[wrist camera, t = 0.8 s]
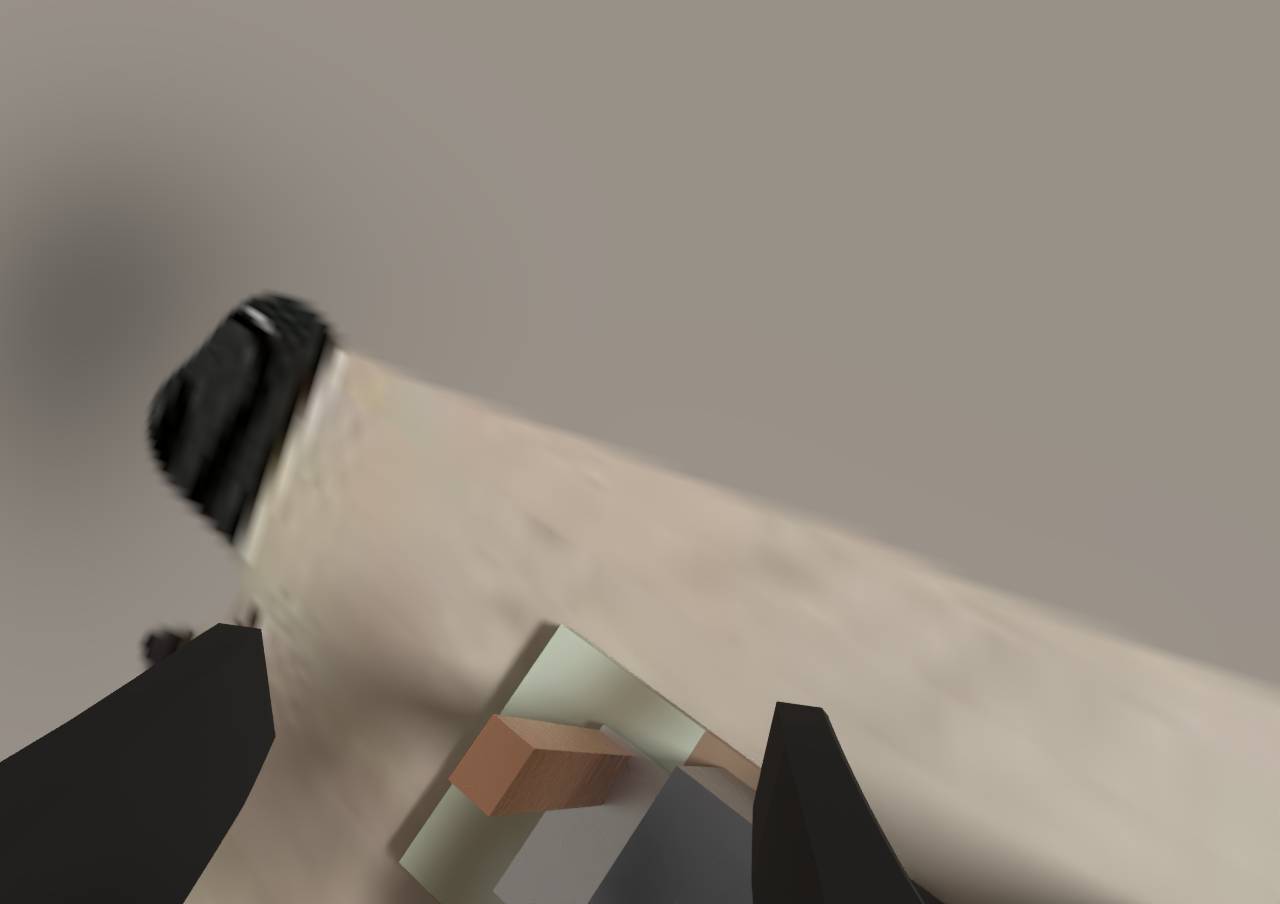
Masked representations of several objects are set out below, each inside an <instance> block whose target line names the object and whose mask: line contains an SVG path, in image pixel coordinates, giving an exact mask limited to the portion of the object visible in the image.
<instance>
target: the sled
mask: <svg viewBox="0 0 1280 904" xmlns="http://www.w3.org/2000/svg"><path fill="white" fill-rule="evenodd" d="M670 775H671V773H670V772H669V771H667V770H666V769H665V768H664V767H662V766H661V765H660V764H658V763H657V762H656V761H655V760H653V759H652V758H651V757H650V756H648V755H647V754H646V753H644V752H643V751H642V750H641V749H639V748H638V747H637V746H635V745H634V744H633V743H632V742H630V741H629V740H628V739H627V738H625V737H624V736H623V735H621V734H620V733H619V732H618V731H616V730H615V729H614V728H612V727H611V726H610V725H605V724H603V725H602V727H601V728H600V730H595V729H588V728H582V727H575V726H569V725H562V724H556V723H549V722H543V721H536V720H530V719H523V718H517V717H510V716H504V715H497V714H493V715H492V716H491V717H490V719H489V720H488V722H487V723H486V725H485V726H484V728H483V729H482V731H481V732H480V734H479V735H478V736H477V738H476V739H475V741H474V742H473V744H472V745H471V747H470V748H469V750H468V751H467V753H466V754H465V755H464V757H463V758H462V760H461V761H460V763H459V764H458V766H457V767H456V769H455V770H454V772H453V773H452V774H451V776H450V777H449V779H448V780H449V781H450V782H451V783H452V784H453V785H454V786H455V787H457V788H458V789H459V790H460V791H461V792H462V793H463V794H464V795H465V796H467V797H468V798H469V799H470V800H471V801H472V802H473V803H474V804H475V805H476V806H478V807H479V808H480V809H481V810H482V811H483V812H484V813H485V814H486V815H488V816H489V817H491V816H501V815H511V814H521V813H531V812H541V811H545V813H544V814H543V816H542V817H541V819H540V820H539V822H538V823H537V825H536V826H535V828H534V829H533V831H532V832H531V834H530V835H529V837H528V839H527V840H526V842H525V843H524V845H523V846H522V848H521V849H520V851H519V852H518V854H517V855H516V857H515V858H514V860H513V861H512V863H511V864H510V866H509V867H508V869H507V870H506V872H505V873H504V875H503V876H502V878H501V879H500V881H499V882H498V884H497V885H496V887H495V888H494V890H493V892H494V893H495V894H496V895H497V896H498V897H499V898H500V899H501V900H502V901H503V902H505V903H506V904H588V902H589V901H590V899H591V898H592V896H593V894H594V893H595V891H596V890H597V888H598V887H599V885H600V884H601V882H602V881H603V879H604V877H605V876H606V874H607V873H608V871H609V870H610V868H611V867H612V865H613V863H614V862H615V860H616V859H617V857H618V856H619V854H620V853H621V851H622V849H623V848H624V846H625V845H626V843H627V842H628V840H629V839H630V837H631V835H632V834H633V832H634V831H635V829H636V828H637V826H638V825H639V823H640V822H641V820H642V818H643V817H644V815H645V814H646V812H647V811H648V809H649V808H650V806H651V804H652V803H653V801H654V800H655V798H656V797H657V795H658V794H659V792H660V790H661V789H662V787H663V786H664V784H665V783H666V781H667V780H668V778H669V777H670Z"/></svg>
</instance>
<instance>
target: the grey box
mask: <svg viewBox="0 0 1280 904" xmlns="http://www.w3.org/2000/svg"><path fill="white" fill-rule="evenodd" d="M755 794H756V791H755V790H753V789H752V788H751V787H749V786H748V785H747V784H745V783H744V782H743V781H741V780H740V779H739V778H737V777H736V776H735V775H733V774H732V773H731V772H729V771H728V770H727V769H725V768H718V767H696V766H676V767H675V769H674V770H673V772H672V773H671V775H670V777H669V778H668V780H667V781H666V783H665V784H664V786H663V787H662V789H661V790H660V792H659V794H658V795H657V797H656V798H655V800H654V801H653V803H652V804H651V806H650V808H649V809H648V811H647V812H646V814H645V815H644V817H643V818H642V820H641V822H640V823H639V825H638V826H637V828H636V829H635V831H634V832H633V834H632V835H631V837H630V839H629V840H628V842H627V843H626V845H625V846H624V848H623V849H622V851H621V853H620V854H619V856H618V857H617V859H616V860H615V862H614V863H613V865H612V867H611V868H610V870H609V871H608V873H607V874H606V876H605V877H604V879H603V881H602V882H601V884H600V885H599V887H598V888H597V890H596V891H595V893H594V894H593V896H592V898H591V899H590V901H589V902H588V904H753V896H752V883H751V867H752V818H753V803H754V798H755Z"/></svg>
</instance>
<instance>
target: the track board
mask: <svg viewBox="0 0 1280 904" xmlns="http://www.w3.org/2000/svg"><path fill="white" fill-rule="evenodd" d="M500 715H504V716H510V717H517V718H523V719H530V720H536V721H543V722H549V723H556V724H562V725H569V726H575V727H582V728H588V729H595V730H600V728H601V727H602V725H603V724H605V725H610V726H611V727H612V728H614V729H615V730H616V731H618V732H619V733H620V734H621V735H623V736H624V737H625V738H627V739H628V740H629V741H630V742H632V743H633V744H634V745H635V746H637V747H638V748H639V749H641V750H642V751H643V752H644V753H646V754H647V755H648V756H650V757H651V758H652V759H653V760H655V761H656V762H657V763H658V764H660V765H661V766H662V767H664V768H665V769H666V770H667V771H669V772H670V773H672V772H673V770H674V769H675V767H676V766H696V767H718V768H725V769H727V770H728V771H729V772H731V773H732V774H733V775H735V776H736V777H737V778H739V779H740V780H741V781H743V782H744V783H745V784H747V785H748V786H749V787H751V788H752V789H753V790H755V791H756V790H757V785H758V781H759V777H760V772H761V768H760V767H758V766H757V765H756V764H754V763H753V762H752V761H750V760H749V759H747V758H746V757H745V756H743V755H742V754H741V753H739V752H738V751H737V750H735V749H734V748H733V747H731V746H730V745H729V744H727V743H726V742H724V741H723V740H722V739H720V738H719V737H718V736H716V735H715V734H714V733H712V732H711V731H710V730H708V729H707V728H706V727H704V726H703V725H701V724H700V723H699V722H697V721H696V720H695V719H693V718H692V717H691V716H689V715H688V714H687V713H685V712H684V711H683V710H681V709H680V708H679V707H677V706H676V705H674V704H673V703H672V702H670V701H669V700H668V699H666V698H665V697H664V696H662V695H661V694H660V693H658V692H657V691H656V690H654V689H653V688H651V687H650V686H649V685H647V684H646V683H645V682H643V681H642V680H641V679H639V678H638V677H637V676H635V675H634V674H633V673H631V672H630V671H628V670H627V669H626V668H624V667H623V666H622V665H620V664H619V663H618V662H616V661H615V660H614V659H612V658H611V657H610V656H608V655H607V654H606V653H604V652H603V651H601V650H600V649H599V648H597V647H596V646H595V645H593V644H592V643H591V642H589V641H588V640H587V639H585V638H584V637H583V636H581V635H580V634H578V633H577V632H576V631H574V630H573V629H571V628H569V627H567V626H565V625H562V624H561V625H560V627H559V628H558V630H557V631H556V633H555V634H554V635H553V637H552V638H551V640H550V641H549V643H548V644H547V646H546V647H545V649H544V650H543V652H542V653H541V655H540V656H539V657H538V659H537V660H536V662H535V663H534V665H533V666H532V668H531V669H530V671H529V672H528V674H527V675H526V676H525V678H524V679H523V681H522V682H521V684H520V685H519V687H518V688H517V690H516V691H515V693H514V694H513V696H512V697H511V698H510V700H509V701H508V703H507V704H506V706H505V707H504V709H503V710H502V712H501V713H500ZM544 813H545V811H541V812H531V813H521V814H511V815H501V816H491V817H489V816H488V815H486V814H485V813H484V812H483V811H482V810H481V809H480V808H479V807H478V806H476V805H475V804H474V803H473V802H472V801H471V800H470V799H469V798H468V797H467V796H465V795H464V794H463V793H462V792H461V791H460V790H459V789H458V788H457V787H455V786H454V785H453V784H452V785H451V786H450V788H449V789H448V791H447V792H446V794H445V795H444V797H443V798H442V799H441V801H440V802H439V804H438V805H437V807H436V808H435V810H434V811H433V813H432V814H431V816H430V817H429V818H428V820H427V821H426V823H425V824H424V826H423V827H422V829H421V830H420V832H419V833H418V835H417V836H416V838H415V839H414V840H413V842H412V843H411V845H410V846H409V848H408V849H407V851H406V852H405V854H404V855H403V857H402V858H401V859H400V861H399V863H400V864H401V865H402V866H403V867H404V868H405V869H406V870H407V871H408V872H409V873H410V874H411V875H412V876H413V877H414V878H415V879H416V880H417V881H418V882H419V883H420V884H421V885H422V886H423V887H424V888H425V889H426V890H427V891H428V892H429V893H430V894H431V895H432V896H433V897H434V898H435V899H436V900H437V901H438V902H439V903H440V904H506V903H505V902H503V901H502V900H501V899H500V898H499V897H498V896H497V895H496V894H495V893H494V892H493V890H494V888H495V887H496V885H497V884H498V882H499V881H500V879H501V878H502V876H503V875H504V873H505V872H506V870H507V869H508V867H509V866H510V864H511V863H512V861H513V860H514V858H515V857H516V855H517V854H518V852H519V851H520V849H521V848H522V846H523V845H524V843H525V842H526V840H527V839H528V837H529V835H530V834H531V832H532V831H533V829H534V828H535V826H536V825H537V823H538V822H539V820H540V819H541V817H542V816H543V814H544ZM909 879H910V878H909ZM910 880H911V879H910ZM911 882H912V884H913V885H914V887H915V889H916V890H917V892H918V893H919V895H920V897H921V898H922V900H923V902H924V903H925V904H943V903H942V902H941V901H939V900H938V899H937V898H935V897H934V896H933V895H931V894H930V893H929V892H927V891H926V890H925V889H923V888H922V887H921V886H919V885H918V884H916V883H915V882H914V881H912V880H911Z"/></svg>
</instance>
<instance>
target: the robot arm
mask: <svg viewBox="0 0 1280 904" xmlns="http://www.w3.org/2000/svg"><path fill="white" fill-rule="evenodd" d="M275 737H276V736H275V729H274V722H273V714H272V707H271V699H270V692H269V684H268V677H267V669H266V662H265V654H264V647H263V639H262V632H261V629H257V628H250V627H243V626H236V625H229V624H221V623H218V624H217V625H215V626H213V627H212V628H210V629H209V630H207V631H205V632H204V633H202V634H201V635H199V636H198V637H196V638H194V639H193V640H191V641H190V642H188V643H187V644H185V645H184V646H182V647H181V648H179V649H178V650H176V651H175V652H173V653H172V654H170V655H169V656H167V657H166V658H164V659H163V660H161V661H160V662H158V663H157V664H155V665H154V666H152V667H151V668H149V669H148V670H146V671H145V672H143V673H142V674H140V675H139V676H137V677H136V678H135V679H133V680H131V681H130V682H128V683H127V684H125V685H124V686H122V687H121V688H119V689H118V690H116V691H114V692H113V693H111V694H110V695H108V696H107V697H105V698H104V699H102V700H101V701H99V702H98V703H96V704H94V705H93V706H92V707H90V708H88V709H87V710H85V711H84V712H82V713H81V714H79V715H78V716H76V717H74V718H73V719H71V720H70V721H68V722H67V723H65V724H63V725H61V726H60V727H58V728H56V729H55V730H53V731H51V732H50V733H48V734H46V735H45V736H43V737H42V738H40V739H38V740H36V741H35V742H33V743H31V744H30V745H28V746H26V747H25V748H23V749H21V750H20V751H18V752H17V753H15V754H13V755H12V756H10V757H8V758H7V759H5V760H3V761H2V762H0V904H183V903H184V901H185V900H186V898H187V896H188V895H189V893H190V892H191V890H192V889H193V887H194V885H195V884H196V882H197V881H198V879H199V877H200V876H201V874H202V873H203V871H204V869H205V868H206V866H207V865H208V863H209V861H210V860H211V858H212V857H213V855H214V853H215V852H216V850H217V848H218V847H219V845H220V844H221V842H222V840H223V839H224V837H225V835H226V834H227V832H228V830H229V829H230V827H231V826H232V824H233V822H234V821H235V819H236V817H237V816H238V814H239V812H240V811H241V809H242V807H243V806H244V804H245V802H246V799H247V797H248V795H249V793H250V791H251V789H252V787H253V785H254V783H255V781H256V779H257V777H258V775H259V772H260V770H261V768H262V766H263V763H264V761H265V759H266V757H267V754H268V752H269V750H270V748H271V746H272V743H273V741H274V739H275ZM751 883H752V896H753V904H925V903H924V902H923V900H922V898H921V897H920V895H919V893H918V892H917V890H916V889H915V887H914V885H913V884H912V882H911V880H910V879H909V877H908V875H907V873H906V872H905V870H904V868H903V867H902V865H901V863H900V861H899V860H898V858H897V856H896V854H895V852H894V851H893V849H892V847H891V845H890V843H889V841H888V840H887V838H886V836H885V834H884V832H883V830H882V829H881V827H880V825H879V823H878V821H877V819H876V818H875V816H874V814H873V812H872V810H871V808H870V806H869V804H868V802H867V800H866V798H865V796H864V794H863V792H862V790H861V788H860V786H859V784H858V782H857V780H856V778H855V776H854V774H853V772H852V770H851V768H850V765H849V763H848V761H847V759H846V757H845V755H844V752H843V750H842V748H841V746H840V743H839V741H838V739H837V737H836V734H835V732H834V730H833V727H832V725H831V722H830V720H829V717H828V715H827V714H826V713H825V711H824V710H823V709H822V708H820V707H813V706H805V705H798V704H791V703H784V702H777V703H776V707H775V711H774V716H773V720H772V724H771V729H770V733H769V737H768V742H767V746H766V750H765V755H764V759H763V764H762V768H761V772H760V777H759V781H758V785H757V790H756V794H755V798H754V803H753V818H752V867H751Z"/></svg>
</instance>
